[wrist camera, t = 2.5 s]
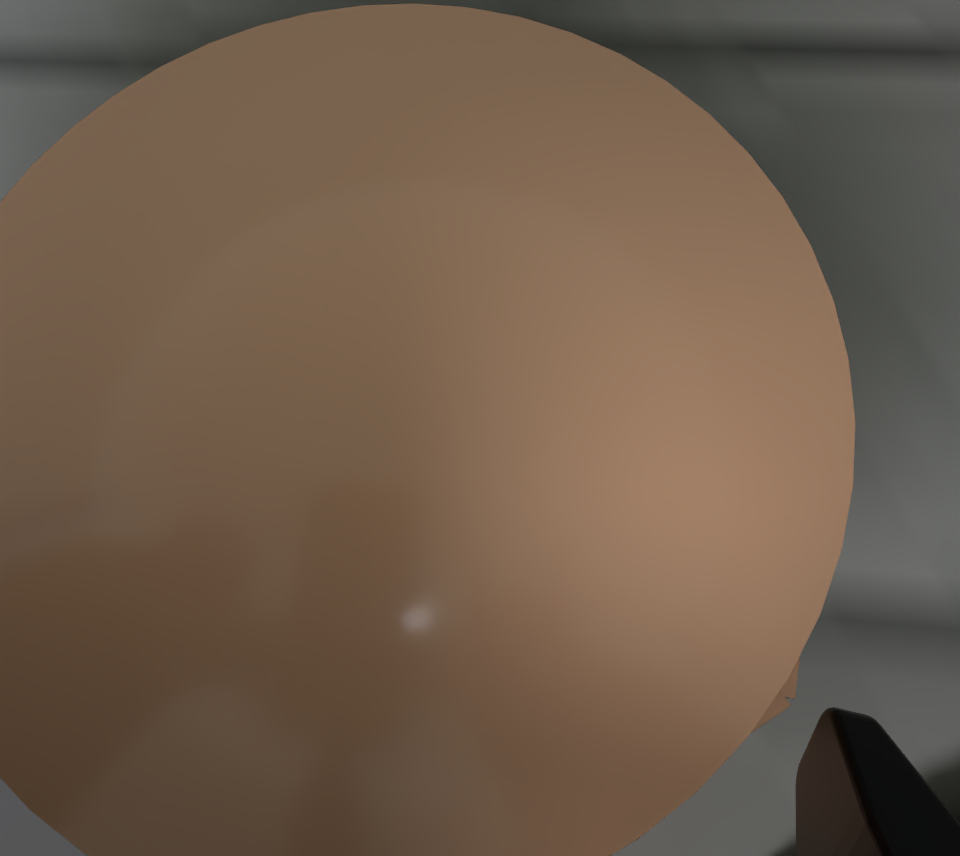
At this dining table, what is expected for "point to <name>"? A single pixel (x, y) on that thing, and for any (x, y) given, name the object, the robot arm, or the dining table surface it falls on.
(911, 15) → the dining table surface
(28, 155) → the dining table surface
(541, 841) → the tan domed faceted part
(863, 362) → the dining table surface
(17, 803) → the charcoal mat
